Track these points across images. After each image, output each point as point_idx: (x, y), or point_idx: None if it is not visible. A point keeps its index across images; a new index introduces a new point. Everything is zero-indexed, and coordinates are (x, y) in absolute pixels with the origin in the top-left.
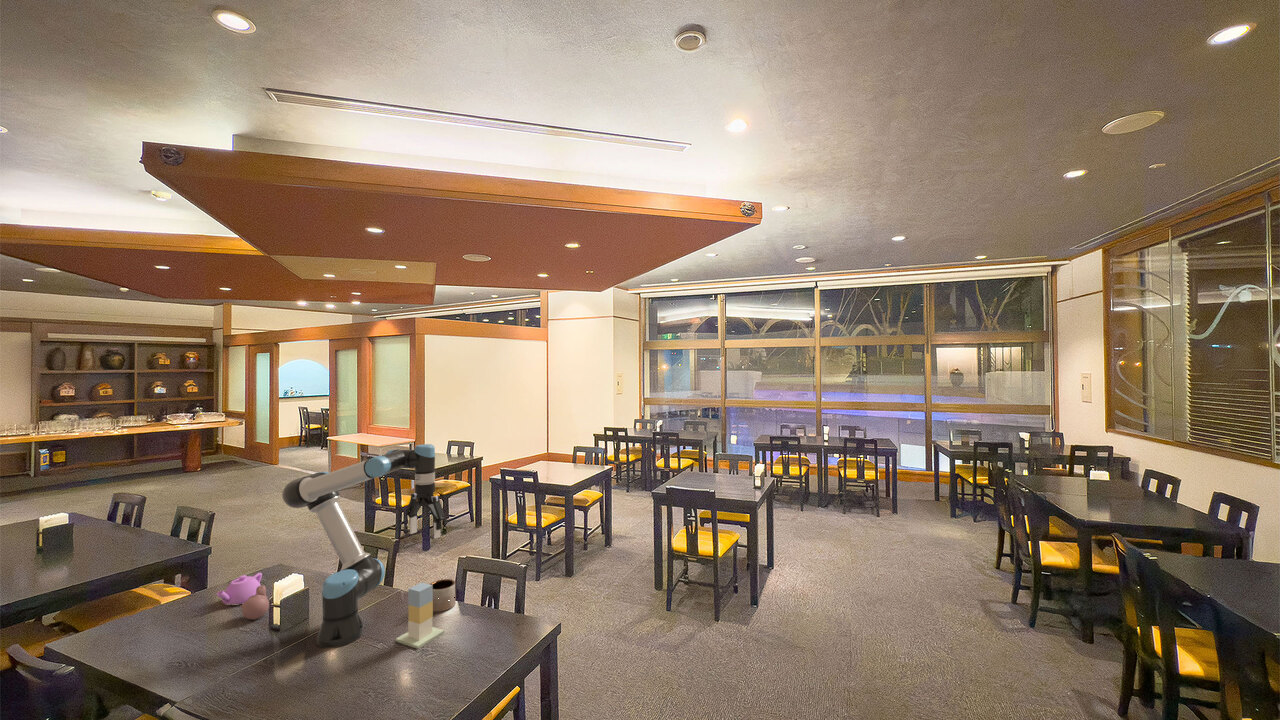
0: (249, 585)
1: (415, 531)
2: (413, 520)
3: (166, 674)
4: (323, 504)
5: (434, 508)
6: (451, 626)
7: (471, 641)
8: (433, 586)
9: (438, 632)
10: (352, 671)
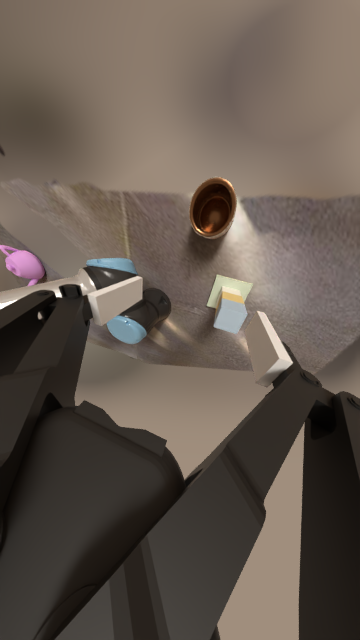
0: (25, 268)
1: (140, 285)
2: (110, 309)
3: (109, 343)
4: None
5: (265, 468)
6: (255, 267)
7: (297, 295)
8: (194, 212)
9: (247, 289)
10: (201, 340)
